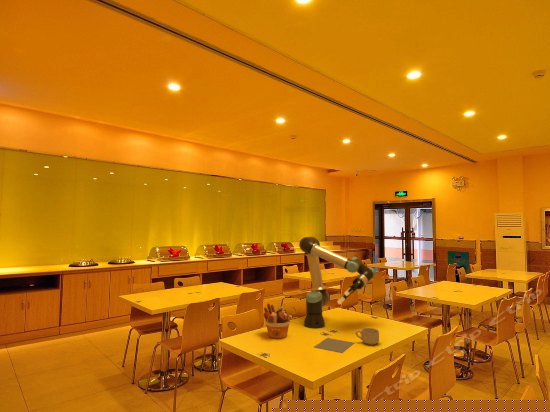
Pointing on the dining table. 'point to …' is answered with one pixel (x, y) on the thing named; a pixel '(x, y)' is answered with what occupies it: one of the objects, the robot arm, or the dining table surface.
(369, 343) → the teacup
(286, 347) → the dining table surface
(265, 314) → the bucket of meat
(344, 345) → the placemat
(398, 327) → the dining table surface
